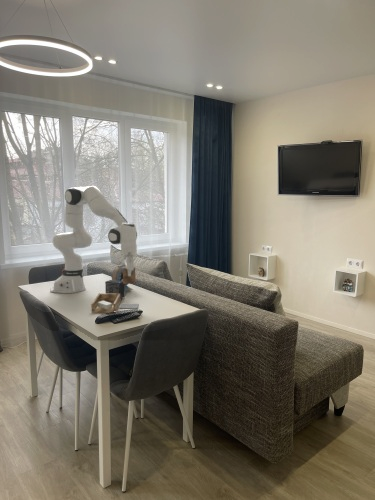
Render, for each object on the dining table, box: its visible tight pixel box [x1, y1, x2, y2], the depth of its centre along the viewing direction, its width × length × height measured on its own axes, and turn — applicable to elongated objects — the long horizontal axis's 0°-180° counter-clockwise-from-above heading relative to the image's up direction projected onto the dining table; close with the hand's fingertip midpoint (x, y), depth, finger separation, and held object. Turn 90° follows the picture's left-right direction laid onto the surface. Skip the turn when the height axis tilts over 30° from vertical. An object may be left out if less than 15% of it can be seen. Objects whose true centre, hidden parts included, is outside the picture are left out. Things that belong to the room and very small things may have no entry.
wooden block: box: [123, 266, 136, 285], centre depth 211 cm, size 7×3×9 cm, turn 100°
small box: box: [104, 279, 125, 300], centre depth 231 cm, size 11×6×10 cm, turn 71°
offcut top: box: [97, 301, 113, 310], centre depth 205 cm, size 8×4×2 cm, turn 48°
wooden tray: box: [91, 293, 121, 314], centre depth 212 cm, size 13×21×5 cm, turn 3°
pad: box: [119, 303, 140, 310], centre depth 214 cm, size 10×8×1 cm
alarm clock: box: [111, 264, 134, 293], centre depth 248 cm, size 14×10×18 cm
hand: (129, 275), depth 211 cm, fingers closed on wooden block, 3 cm apart
